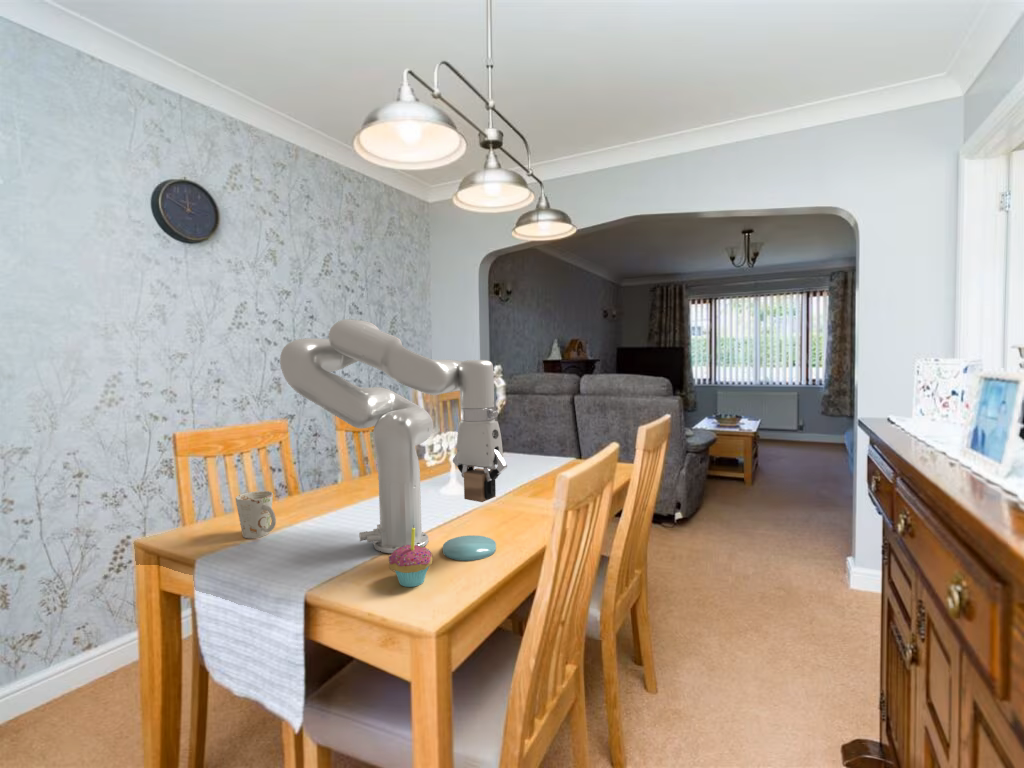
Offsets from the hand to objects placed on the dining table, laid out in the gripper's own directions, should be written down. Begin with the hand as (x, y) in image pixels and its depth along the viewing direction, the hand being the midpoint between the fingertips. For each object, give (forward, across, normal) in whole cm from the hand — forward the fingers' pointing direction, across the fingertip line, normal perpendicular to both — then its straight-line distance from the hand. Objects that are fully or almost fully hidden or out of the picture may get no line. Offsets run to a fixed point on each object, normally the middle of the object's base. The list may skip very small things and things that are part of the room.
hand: (479, 494), depth 115 cm
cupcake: (+13, +2, +20) cm, 24 cm away
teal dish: (+13, +3, +1) cm, 13 cm away
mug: (+13, +53, +22) cm, 58 cm away
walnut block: (+1, 0, 0) cm, 1 cm away
